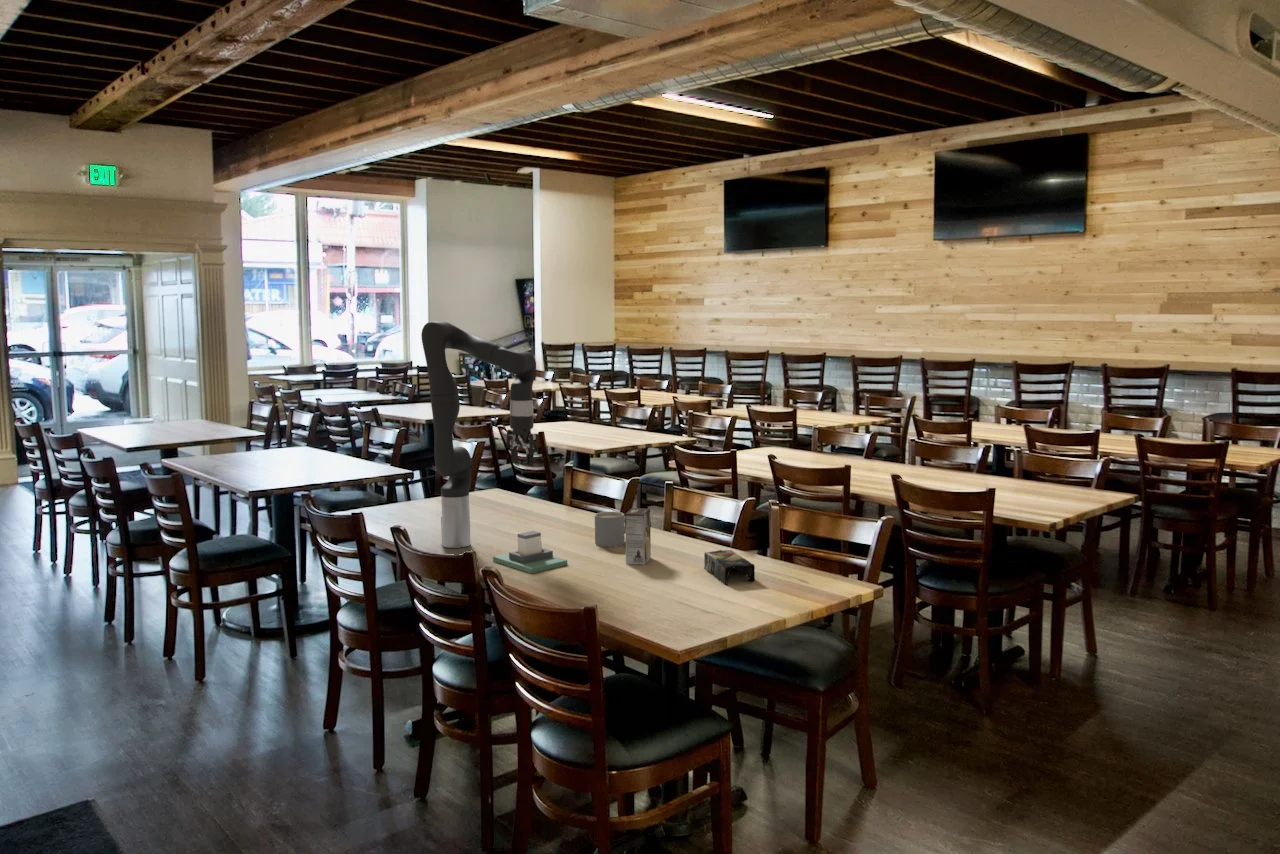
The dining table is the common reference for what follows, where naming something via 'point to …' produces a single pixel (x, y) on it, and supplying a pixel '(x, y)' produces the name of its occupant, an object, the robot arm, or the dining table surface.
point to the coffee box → (638, 536)
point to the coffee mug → (609, 529)
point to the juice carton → (727, 565)
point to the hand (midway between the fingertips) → (522, 463)
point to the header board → (531, 561)
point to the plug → (529, 543)
